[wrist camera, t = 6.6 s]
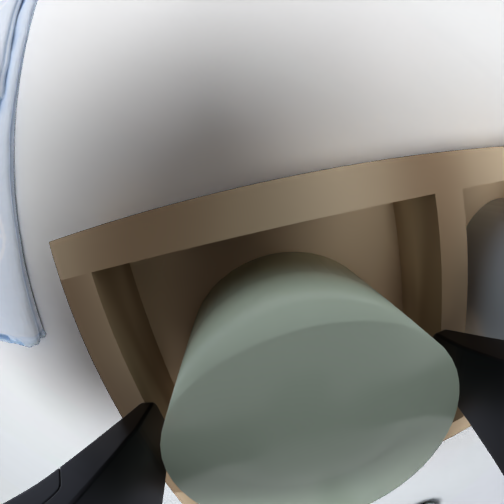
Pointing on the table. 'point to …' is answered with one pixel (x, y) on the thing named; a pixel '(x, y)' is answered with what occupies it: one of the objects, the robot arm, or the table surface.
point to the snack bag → (3, 193)
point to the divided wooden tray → (270, 242)
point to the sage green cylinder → (304, 390)
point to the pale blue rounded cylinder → (486, 271)
